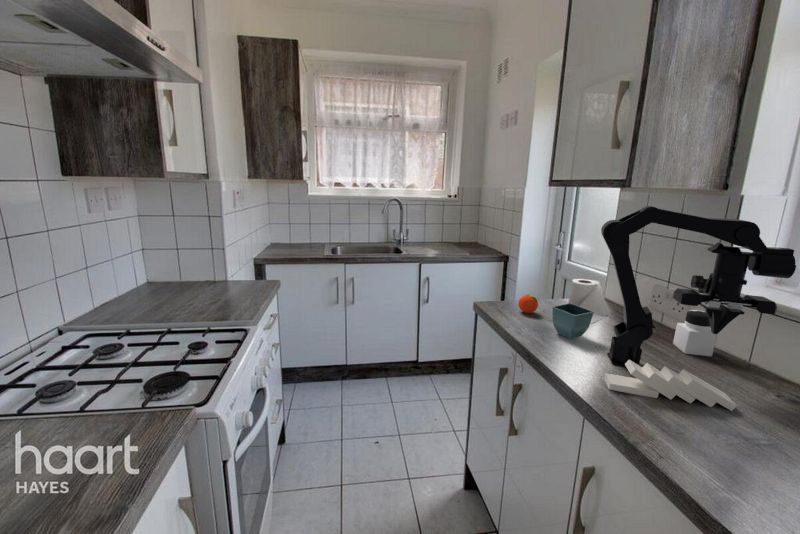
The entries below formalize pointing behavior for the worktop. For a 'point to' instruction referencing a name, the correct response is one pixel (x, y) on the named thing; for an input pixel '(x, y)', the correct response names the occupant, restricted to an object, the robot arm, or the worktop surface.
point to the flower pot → (571, 320)
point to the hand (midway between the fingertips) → (714, 333)
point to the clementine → (528, 303)
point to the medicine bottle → (695, 334)
